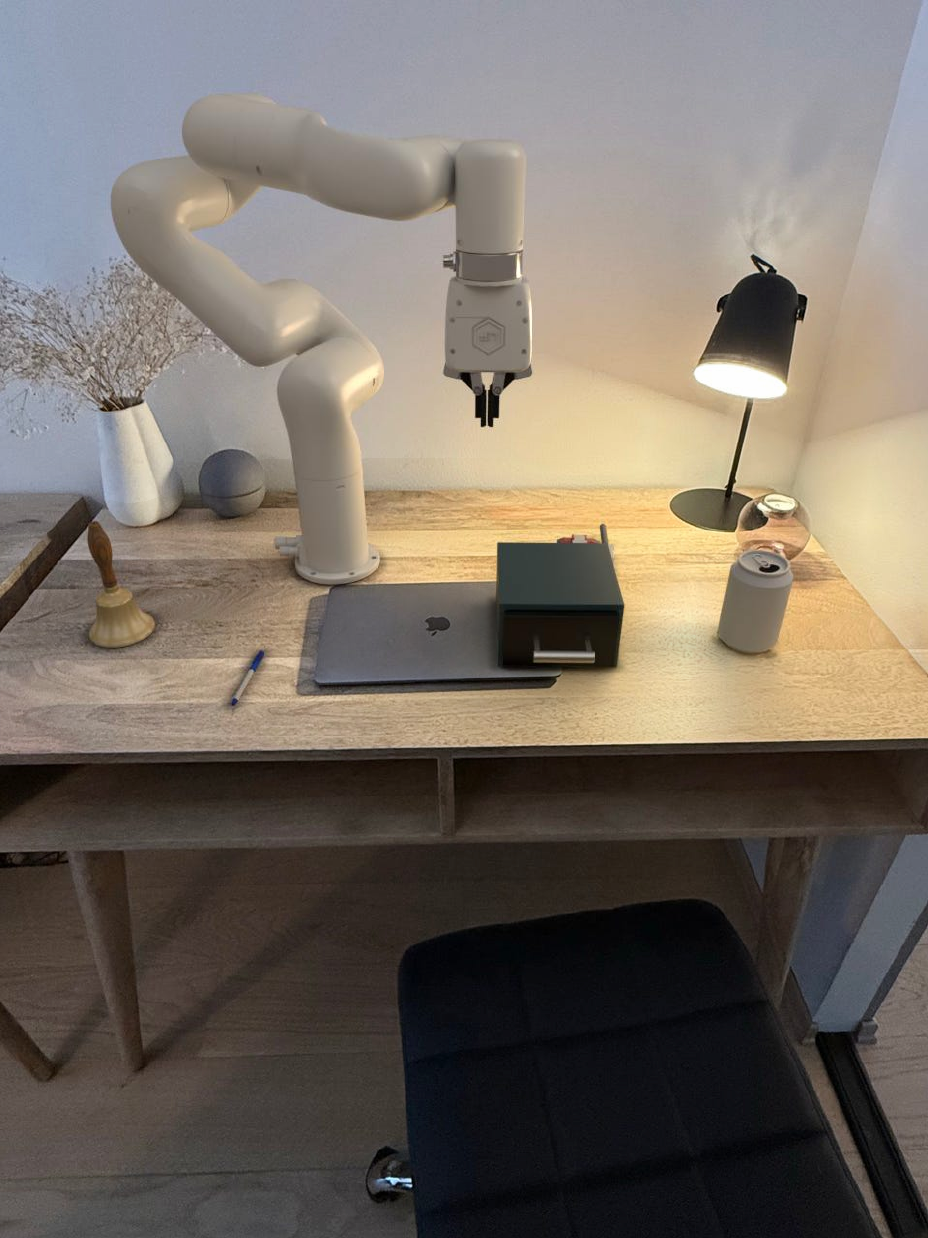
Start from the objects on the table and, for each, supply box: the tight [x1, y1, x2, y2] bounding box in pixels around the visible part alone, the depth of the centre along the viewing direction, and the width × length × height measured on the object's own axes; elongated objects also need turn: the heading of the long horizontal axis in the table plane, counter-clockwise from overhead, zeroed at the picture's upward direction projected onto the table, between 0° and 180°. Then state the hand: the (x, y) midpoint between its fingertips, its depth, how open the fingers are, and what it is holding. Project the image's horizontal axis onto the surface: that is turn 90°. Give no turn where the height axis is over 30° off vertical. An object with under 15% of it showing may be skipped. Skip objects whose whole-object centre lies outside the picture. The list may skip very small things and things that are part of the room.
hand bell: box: [86, 520, 156, 649], centre depth 105 cm, size 8×8×16 cm
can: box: [717, 549, 794, 655], centre depth 104 cm, size 8×8×12 cm
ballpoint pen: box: [230, 649, 265, 707], centre depth 100 cm, size 10×1×1 cm, turn 174°
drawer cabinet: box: [495, 541, 625, 668], centre depth 106 cm, size 15×15×9 cm
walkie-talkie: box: [556, 523, 615, 564], centre depth 123 cm, size 9×4×20 cm
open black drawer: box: [502, 610, 620, 668], centre depth 103 cm, size 19×14×7 cm
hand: (486, 423), depth 103 cm, fingers closed
